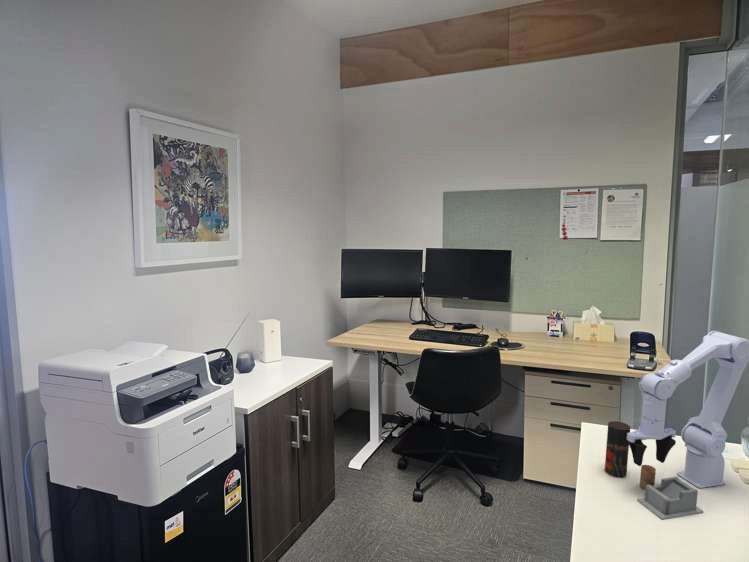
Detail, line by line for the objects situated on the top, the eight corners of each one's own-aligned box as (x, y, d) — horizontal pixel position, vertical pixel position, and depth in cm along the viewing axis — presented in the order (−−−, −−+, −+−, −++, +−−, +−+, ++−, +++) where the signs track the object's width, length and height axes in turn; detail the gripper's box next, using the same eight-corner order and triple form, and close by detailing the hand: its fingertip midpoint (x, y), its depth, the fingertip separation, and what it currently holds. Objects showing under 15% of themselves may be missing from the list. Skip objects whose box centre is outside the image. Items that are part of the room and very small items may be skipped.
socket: (676, 494, 135) (678, 474, 134) (703, 512, 127) (705, 491, 126) (637, 500, 132) (638, 480, 131) (661, 519, 124) (663, 498, 123)
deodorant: (629, 478, 143) (633, 430, 141) (607, 476, 144) (611, 428, 142) (623, 468, 149) (626, 422, 147) (602, 466, 150) (605, 420, 148)
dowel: (647, 483, 141) (648, 464, 140) (657, 490, 137) (658, 470, 136) (636, 484, 140) (638, 465, 139) (646, 492, 136) (648, 472, 136)
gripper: (663, 409, 141) (659, 453, 143) (620, 413, 138) (616, 458, 140) (683, 419, 134) (679, 465, 136) (639, 424, 131) (635, 471, 133)
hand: (648, 462), depth 137 cm, fingers open, 7 cm apart
